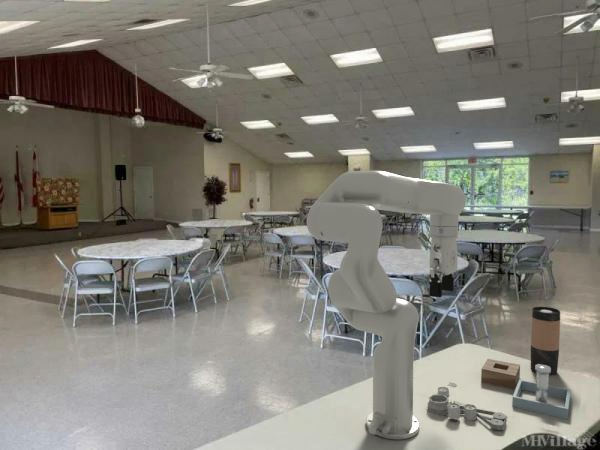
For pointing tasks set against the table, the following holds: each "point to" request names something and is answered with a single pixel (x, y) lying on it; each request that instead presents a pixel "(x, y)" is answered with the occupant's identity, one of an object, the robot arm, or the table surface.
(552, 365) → the travel mug
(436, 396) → the pulley system
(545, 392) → the lock pin
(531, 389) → the pin tray
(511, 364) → the block
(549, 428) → the table surface
